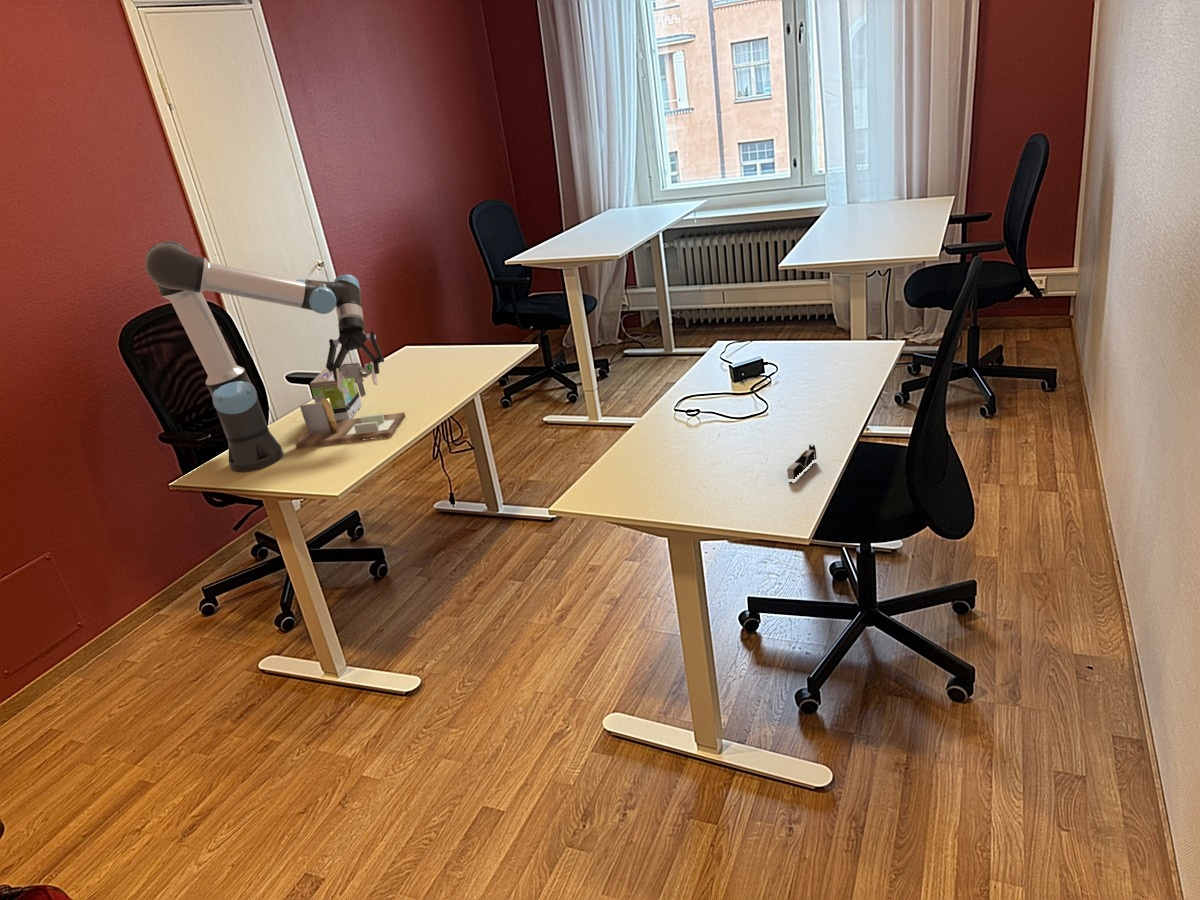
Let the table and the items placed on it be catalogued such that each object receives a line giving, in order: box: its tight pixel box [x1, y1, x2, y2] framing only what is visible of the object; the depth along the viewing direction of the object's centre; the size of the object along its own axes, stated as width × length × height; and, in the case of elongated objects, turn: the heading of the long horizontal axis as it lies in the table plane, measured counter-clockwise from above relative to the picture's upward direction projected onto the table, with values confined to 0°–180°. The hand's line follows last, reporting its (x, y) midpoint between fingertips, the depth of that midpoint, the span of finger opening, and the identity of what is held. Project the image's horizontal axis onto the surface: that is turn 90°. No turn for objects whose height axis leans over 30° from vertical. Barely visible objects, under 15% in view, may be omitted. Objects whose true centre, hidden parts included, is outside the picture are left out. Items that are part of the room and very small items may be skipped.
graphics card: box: [786, 444, 817, 479], centre depth 182 cm, size 12×3×5 cm, turn 142°
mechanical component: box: [339, 362, 372, 398], centre depth 241 cm, size 3×10×10 cm, turn 76°
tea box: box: [309, 368, 363, 421], centre depth 264 cm, size 15×10×15 cm
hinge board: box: [295, 398, 406, 449], centre depth 248 cm, size 30×16×12 cm, turn 88°
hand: (357, 386), depth 239 cm, fingers closed on mechanical component, 9 cm apart
